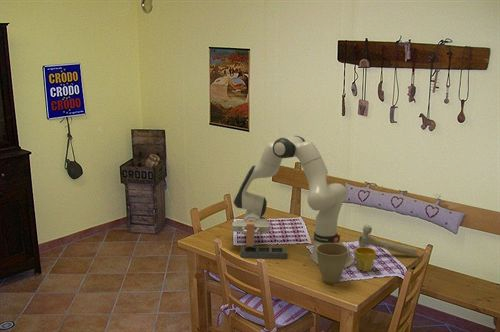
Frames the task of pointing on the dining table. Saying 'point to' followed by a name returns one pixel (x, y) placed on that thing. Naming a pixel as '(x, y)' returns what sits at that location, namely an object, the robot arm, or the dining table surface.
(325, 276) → the plant pot
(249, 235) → the peg
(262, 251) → the grey slotted tray
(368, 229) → the hammer
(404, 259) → the dining table surface
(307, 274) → the dining table surface
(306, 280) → the dining table surface
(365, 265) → the plant pot
